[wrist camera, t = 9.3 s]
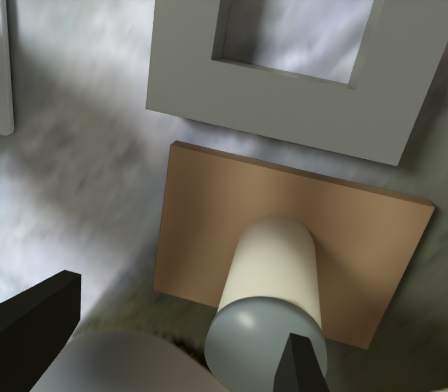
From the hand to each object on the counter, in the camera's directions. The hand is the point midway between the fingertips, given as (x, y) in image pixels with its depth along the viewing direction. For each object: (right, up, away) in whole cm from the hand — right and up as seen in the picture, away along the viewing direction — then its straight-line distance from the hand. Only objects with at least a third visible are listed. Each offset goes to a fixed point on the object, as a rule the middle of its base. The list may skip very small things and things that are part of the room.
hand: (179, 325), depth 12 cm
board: (+5, +1, +10) cm, 11 cm away
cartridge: (+5, +1, +9) cm, 10 cm away
